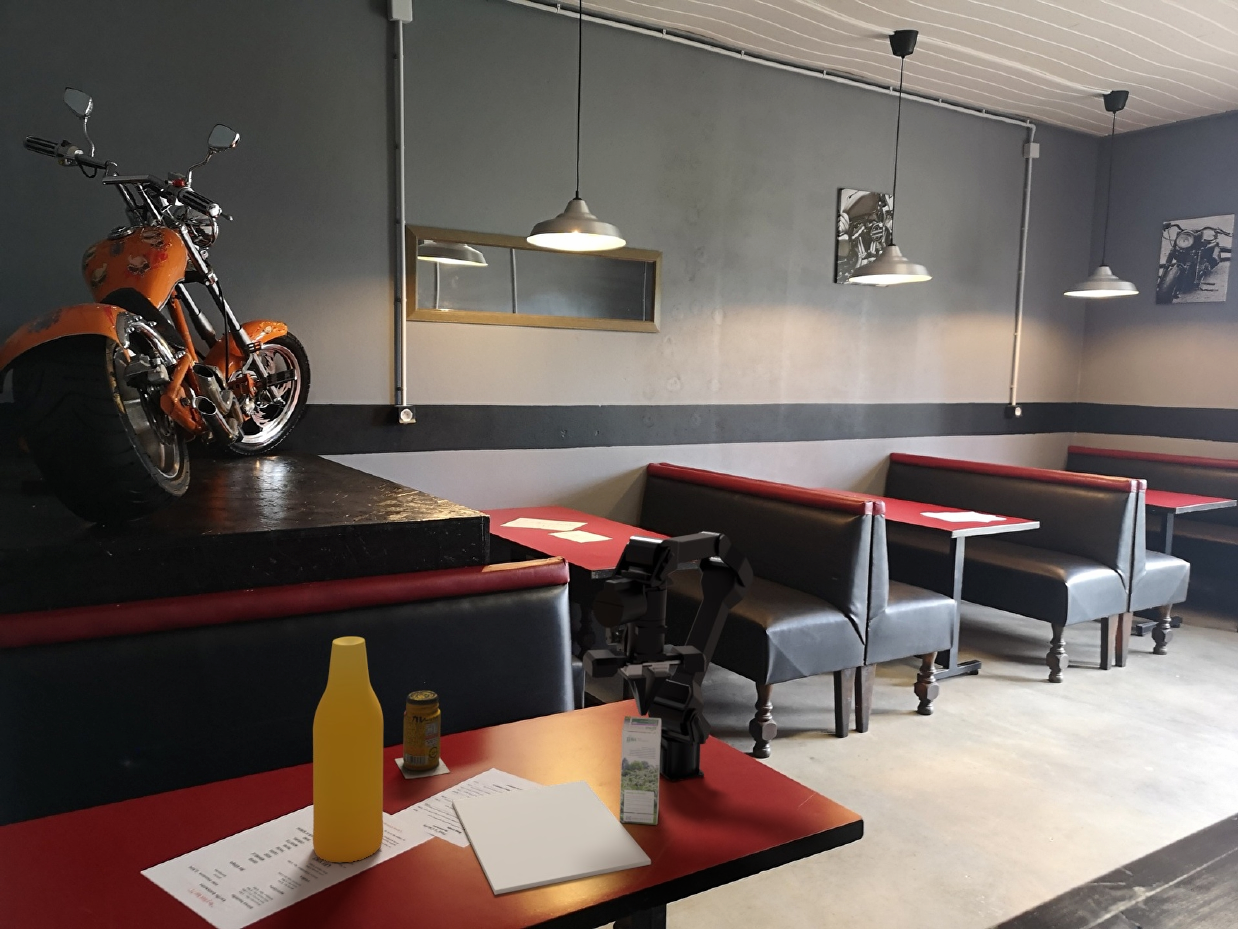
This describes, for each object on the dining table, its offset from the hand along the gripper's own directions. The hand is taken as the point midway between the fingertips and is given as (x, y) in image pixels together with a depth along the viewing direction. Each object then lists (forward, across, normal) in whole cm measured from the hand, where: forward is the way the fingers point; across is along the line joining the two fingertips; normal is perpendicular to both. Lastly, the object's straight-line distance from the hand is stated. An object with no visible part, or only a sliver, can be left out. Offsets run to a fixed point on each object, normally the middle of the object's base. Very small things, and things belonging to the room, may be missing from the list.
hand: (642, 715), depth 139 cm
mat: (+14, +17, +7) cm, 23 cm away
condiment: (+14, +32, -20) cm, 40 cm away
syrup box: (+13, +2, +6) cm, 15 cm away
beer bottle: (+14, +44, +4) cm, 46 cm away
